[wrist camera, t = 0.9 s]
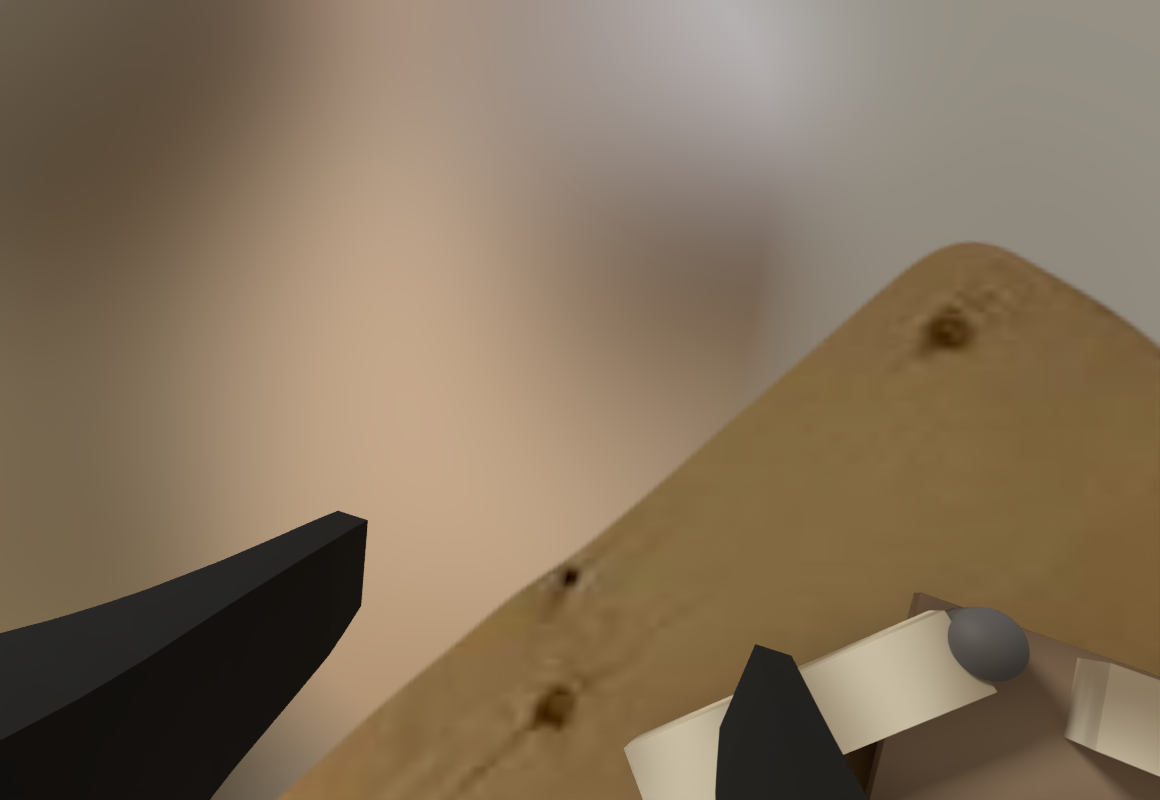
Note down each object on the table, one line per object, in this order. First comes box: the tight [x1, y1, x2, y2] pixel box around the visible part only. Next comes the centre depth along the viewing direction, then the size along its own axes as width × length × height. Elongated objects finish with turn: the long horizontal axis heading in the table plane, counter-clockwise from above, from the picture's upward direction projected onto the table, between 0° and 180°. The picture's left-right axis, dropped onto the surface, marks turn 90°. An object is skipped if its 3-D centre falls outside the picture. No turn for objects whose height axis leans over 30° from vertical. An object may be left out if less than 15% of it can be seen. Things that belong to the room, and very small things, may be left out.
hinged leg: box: [624, 607, 1030, 800], centre depth 19 cm, size 12×2×2 cm, turn 113°
